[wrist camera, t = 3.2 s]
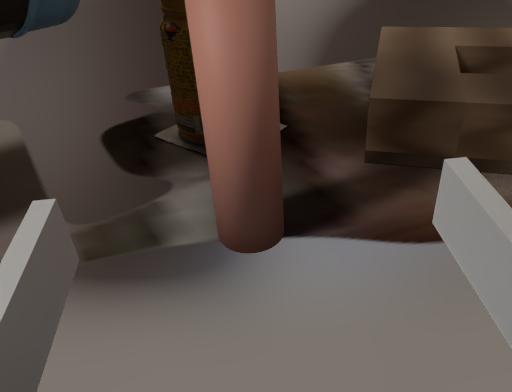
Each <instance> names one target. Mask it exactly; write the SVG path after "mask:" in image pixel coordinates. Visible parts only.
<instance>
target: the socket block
mask: <svg viewBox="0 0 512 392" xmlns="http://www.w3.org/2000/svg"><path fill="white" fill-rule="evenodd" d="M461 157H467V158H468V159H469V161H470V162H471V163H472V164H473V165H474V166H475V167H476V169H477V170H478V171H479V172H492V173H504V174H512V28H461V27H460V28H459V27H382V30H381V36H380V41H379V46H378V52H377V58H376V63H375V69H374V74H373V80H372V85H371V91H370V96H369V107H368V120H367V133H366V146H365V159H364V162H367V163H379V164H392V165H404V166H417V167H429V168H443V163H444V159H451V158H461Z"/></svg>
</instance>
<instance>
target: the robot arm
mask: <svg viewBox="0 0 512 392" xmlns="http://www.w3.org/2000/svg"><path fill="white" fill-rule="evenodd" d="M79 3H80V0H0V39H3V38H18V37H21V36H23V35H25V34H26V33H27V32H31V31H35V30H39V29H44V28H48V27H52V26H57V25H60V24H63V23H65V22H67V21H68V20H69V19H70V18H71V17H72V16H73V15H74V14H75V12H76V10H77V9H78V6H79ZM432 223H433V225H434V226H435V228H436V229H437V231H438V233H439V234H440V236H441V237H442V239H443V241H444V242H445V244H446V245H447V247H448V248H449V250H450V252H451V253H452V255H453V256H454V258H455V260H456V261H457V263H458V264H459V266H460V267H461V269H462V271H463V272H464V274H465V276H466V277H467V278H468V280H469V282H470V284H471V285H472V287H473V288H474V290H475V291H476V293H477V295H478V296H479V298H480V299H481V301H482V303H483V304H484V306H485V307H486V309H487V311H488V312H489V314H490V315H491V317H492V318H493V320H494V322H495V323H496V325H497V327H498V328H499V330H500V331H501V333H502V335H503V336H504V338H505V339H506V341H507V343H508V344H509V346H510V347H511V349H512V208H511V207H510V206H509V205H508V204H507V202H506V201H505V200H504V199H503V198H502V197H501V196H500V195H499V193H498V192H497V191H496V190H495V189H494V188H493V187H492V185H491V184H490V183H489V182H488V181H487V180H486V179H485V178H484V176H483V175H482V174H481V173H480V172H479V171H478V170H477V169H476V167H475V166H474V165H473V164H472V163H471V162H470V161H469V159H468V158H467V157H461V158H451V159H444V163H443V168H442V174H441V179H440V184H439V190H438V195H437V200H436V205H435V211H434V216H433V221H432ZM78 262H79V258H78V255H77V253H76V250H75V247H74V245H73V242H72V239H71V237H70V234H69V232H68V229H67V226H66V224H65V221H64V218H63V216H62V213H61V210H60V208H59V205H58V203H57V200H56V199H46V200H36V201H32V203H31V205H30V207H29V209H28V211H27V213H26V215H25V217H24V219H23V221H22V223H21V224H20V226H19V228H18V230H17V232H16V234H15V236H14V238H13V240H12V242H11V244H10V246H9V248H8V250H7V252H6V253H5V255H4V257H3V259H2V261H1V263H0V392H37V388H38V386H39V383H40V380H41V377H42V374H43V370H44V367H45V364H46V361H47V358H48V355H49V352H50V349H51V346H52V343H53V339H54V336H55V333H56V330H57V327H58V324H59V321H60V318H61V315H62V311H63V308H64V305H65V302H66V299H67V296H68V293H69V290H70V287H71V283H72V280H73V277H74V274H75V271H76V268H77V265H78Z"/></svg>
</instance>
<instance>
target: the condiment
mask: <svg viewBox="0 0 512 392" xmlns="http://www.w3.org/2000/svg"><path fill="white" fill-rule="evenodd" d="M161 3H162V4H161V9H162V11H163V12H164V16H163V18H162V21H161V25H160V30H161V37H162V45H163V48H164V55H165V60H166V68H167V71H168V77H169V83H170V88H171V95H172V102H173V106H174V111H175V118H176V123H177V124H176V125H174V126H172V127H170V128H167V129H165V130H163V131H161V132H159V133H158V134H156V135H154V136H156V137H159V138H161V139H163V140H166V141H168V142H172V143H174V144H176V145H178V146H183V147H184V148H188V149H191V150H196V151H199V152H200V153H202V154H206V155H207V152H206V145H205V138H204V131H203V124H202V118H201V111H200V104H199V97H198V90H197V83H196V76H195V69H194V62H193V55H192V48H191V42H190V35H189V28H188V21H187V14H186V7H185V0H161ZM285 127H286V125H283V124H281V123H280V131H281V130H282V129H283V128H285Z"/></svg>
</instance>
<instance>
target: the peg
mask: <svg viewBox="0 0 512 392" xmlns="http://www.w3.org/2000/svg"><path fill="white" fill-rule="evenodd" d="M185 7H186V14H187V21H188V28H189V35H190V42H191V48H192V55H193V62H194V69H195V76H196V83H197V90H198V97H199V104H200V111H201V118H202V124H203V131H204V138H205V145H206V152H207V159H208V166H209V173H210V180H211V187H212V194H213V201H214V207H215V214H216V221H217V228H218V235H219V239H220V241H221V243H222V244H223V245H224V246H226V247H227V248H229V249H230V250H233V251H236V252H240V253H257V252H262V251H265V250H268V249H270V248H272V247H273V246H275V245H276V244H277V243H278V242H279V241H280V240H281V239H282V237H283V235H284V212H283V187H282V163H281V138H280V113H279V88H278V65H277V64H278V63H277V40H276V14H275V0H185Z"/></svg>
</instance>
